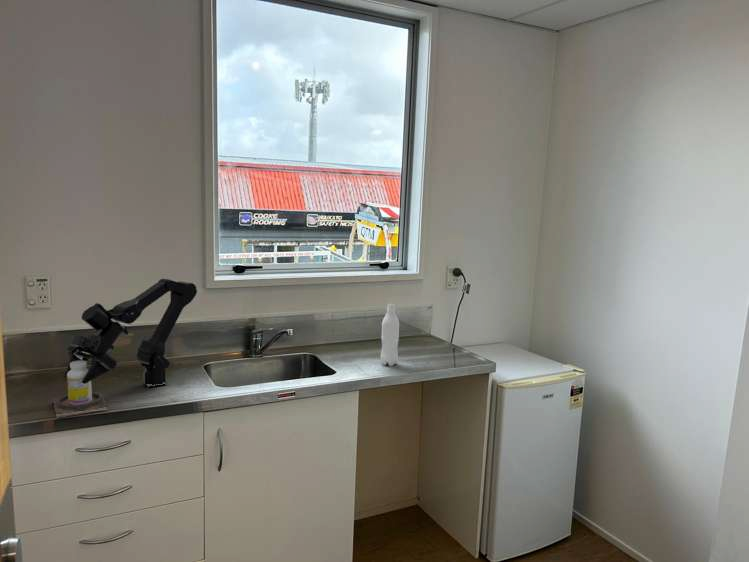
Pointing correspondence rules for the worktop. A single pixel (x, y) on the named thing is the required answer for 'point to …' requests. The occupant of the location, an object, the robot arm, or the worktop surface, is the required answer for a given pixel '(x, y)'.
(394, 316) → the water bottle
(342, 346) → the worktop surface
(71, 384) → the supplement bottle
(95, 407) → the locating board
